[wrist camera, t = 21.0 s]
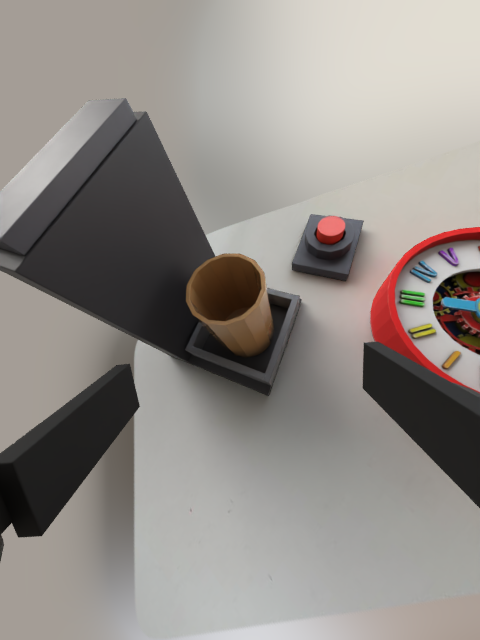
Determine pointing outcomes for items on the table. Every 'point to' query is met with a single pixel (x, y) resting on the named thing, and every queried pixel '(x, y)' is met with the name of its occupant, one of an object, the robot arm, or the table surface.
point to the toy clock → (435, 306)
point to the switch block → (327, 250)
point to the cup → (232, 303)
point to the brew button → (330, 230)
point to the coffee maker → (123, 240)
